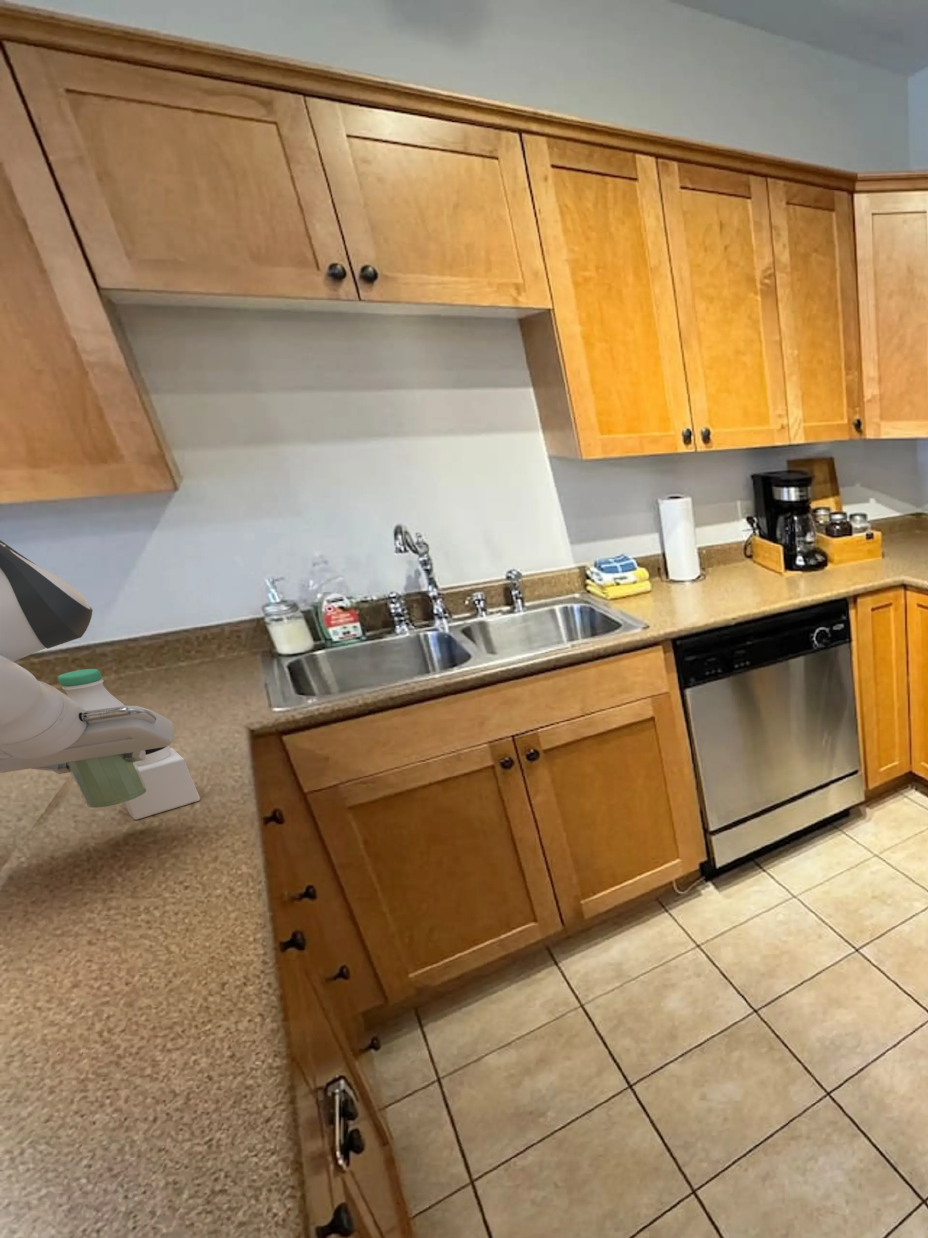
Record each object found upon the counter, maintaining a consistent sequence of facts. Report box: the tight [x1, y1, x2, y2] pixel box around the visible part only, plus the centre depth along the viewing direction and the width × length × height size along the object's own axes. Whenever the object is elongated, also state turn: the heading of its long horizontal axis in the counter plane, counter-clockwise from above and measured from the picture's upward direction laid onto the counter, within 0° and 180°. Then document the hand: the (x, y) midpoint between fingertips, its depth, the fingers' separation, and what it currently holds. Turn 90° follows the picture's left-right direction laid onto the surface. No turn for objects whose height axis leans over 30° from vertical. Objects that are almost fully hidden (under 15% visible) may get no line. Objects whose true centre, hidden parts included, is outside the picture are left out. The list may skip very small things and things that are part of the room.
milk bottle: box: [57, 668, 126, 711], centre depth 121 cm, size 8×8×20 cm
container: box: [121, 745, 201, 821], centre depth 115 cm, size 8×8×13 cm
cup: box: [66, 753, 147, 809], centre depth 104 cm, size 6×6×10 cm
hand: (103, 762), depth 104 cm, fingers closed on cup, 6 cm apart
